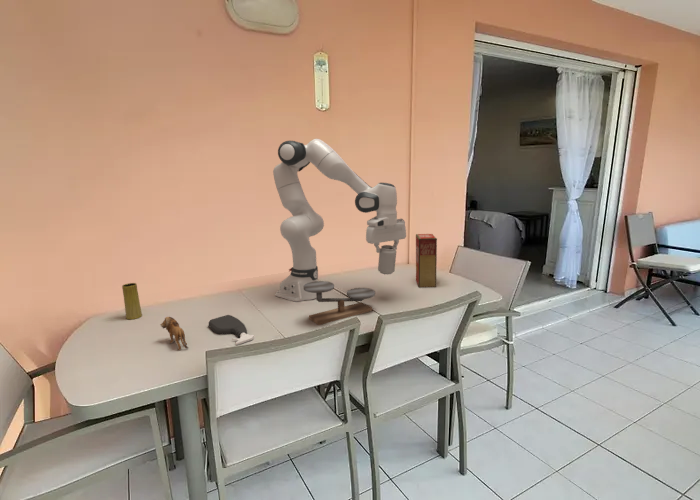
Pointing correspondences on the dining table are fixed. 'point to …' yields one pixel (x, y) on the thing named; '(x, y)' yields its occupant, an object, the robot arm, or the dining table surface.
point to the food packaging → (426, 260)
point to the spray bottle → (230, 328)
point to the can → (387, 259)
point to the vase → (131, 301)
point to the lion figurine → (174, 331)
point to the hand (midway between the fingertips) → (386, 251)
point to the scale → (342, 310)
